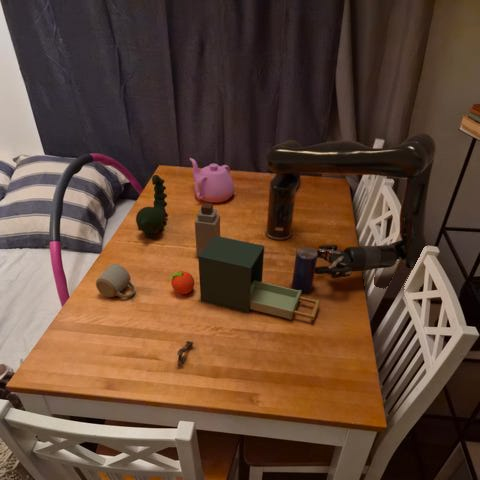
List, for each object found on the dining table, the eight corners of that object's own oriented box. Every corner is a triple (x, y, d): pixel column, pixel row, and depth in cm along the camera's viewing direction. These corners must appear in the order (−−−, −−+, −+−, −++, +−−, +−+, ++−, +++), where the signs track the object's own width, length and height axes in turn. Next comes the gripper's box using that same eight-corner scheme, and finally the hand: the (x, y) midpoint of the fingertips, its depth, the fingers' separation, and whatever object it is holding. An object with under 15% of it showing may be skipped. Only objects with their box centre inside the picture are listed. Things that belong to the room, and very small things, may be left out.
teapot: (207, 180, 187) (205, 150, 178) (245, 193, 178) (246, 161, 169) (174, 197, 174) (171, 165, 164) (214, 211, 164) (213, 178, 155)
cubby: (261, 289, 126) (264, 245, 115) (248, 313, 118) (250, 268, 107) (216, 279, 130) (215, 235, 119) (200, 301, 122) (198, 256, 111)
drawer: (320, 303, 120) (321, 295, 118) (312, 325, 113) (314, 317, 111) (253, 287, 126) (253, 279, 124) (242, 307, 118) (242, 299, 116)
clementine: (169, 300, 122) (167, 281, 117) (168, 286, 127) (166, 267, 122) (196, 297, 123) (194, 278, 118) (193, 283, 128) (192, 265, 123)
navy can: (294, 279, 131) (299, 244, 122) (313, 284, 129) (320, 249, 120) (289, 290, 126) (293, 255, 117) (309, 295, 125) (315, 260, 116)
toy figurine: (152, 217, 163) (132, 245, 143) (146, 170, 152) (124, 192, 132) (175, 219, 162) (158, 247, 142) (171, 171, 151) (152, 194, 131)
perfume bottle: (215, 260, 138) (214, 211, 126) (196, 257, 139) (193, 209, 127) (220, 249, 143) (219, 202, 131) (202, 247, 144) (199, 199, 132)
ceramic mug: (96, 295, 122) (91, 275, 117) (111, 280, 128) (107, 260, 123) (127, 304, 120) (122, 283, 115) (141, 288, 126) (137, 268, 120)
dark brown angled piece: (173, 367, 101) (175, 350, 99) (185, 355, 108) (186, 339, 107) (180, 368, 100) (182, 351, 99) (191, 356, 108) (193, 341, 106)
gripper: (355, 235, 127) (305, 239, 124) (374, 261, 116) (320, 265, 114) (350, 256, 132) (302, 260, 129) (368, 281, 121) (316, 286, 119)
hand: (311, 262), depth 122 cm, fingers open, 8 cm apart
